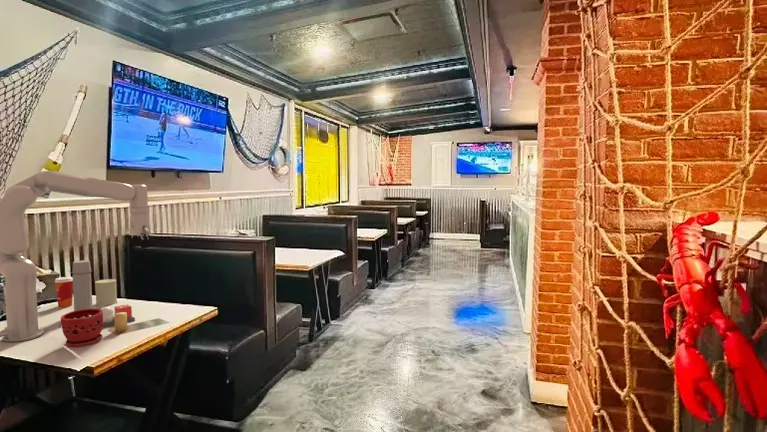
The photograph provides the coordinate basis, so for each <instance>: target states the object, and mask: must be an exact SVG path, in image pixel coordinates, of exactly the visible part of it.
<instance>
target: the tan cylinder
mask: <svg viewBox="0 0 767 432" xmlns="http://www.w3.org/2000/svg"><path fill="white" fill-rule="evenodd" d="M114 321H115V325H114V328H115V332H123V331H126V330H127V325H128V323H127V313H126V312H120V313H116V314H115V313H114Z"/></svg>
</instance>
